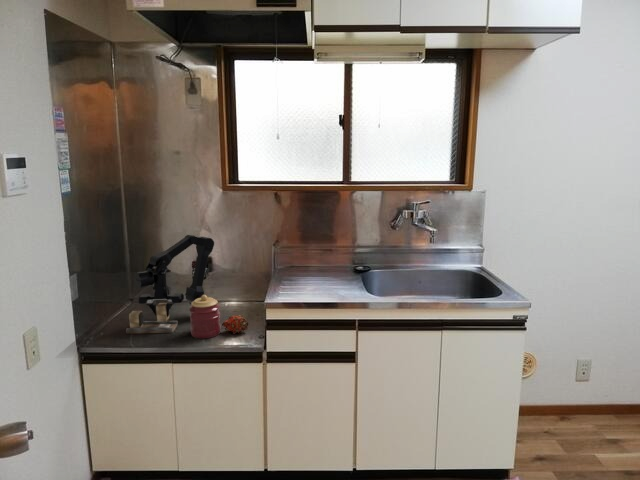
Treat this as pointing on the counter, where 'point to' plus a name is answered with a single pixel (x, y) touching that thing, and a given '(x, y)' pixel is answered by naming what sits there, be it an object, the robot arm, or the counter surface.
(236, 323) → the dragon fruit
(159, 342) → the counter surface
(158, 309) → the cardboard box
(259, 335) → the counter surface
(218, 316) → the canister
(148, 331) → the slider rail with block
